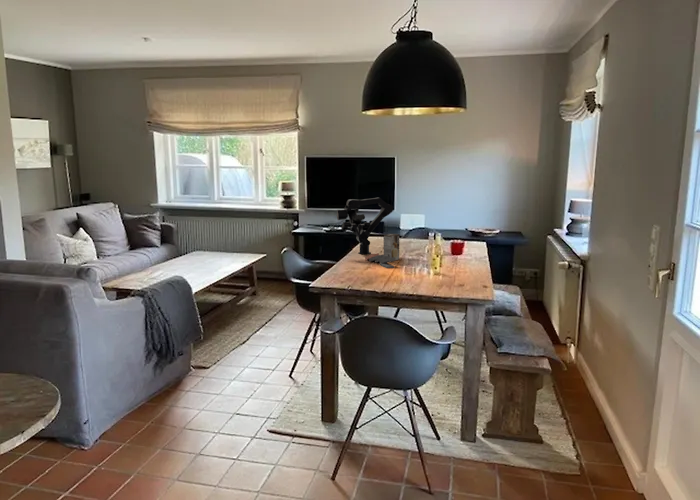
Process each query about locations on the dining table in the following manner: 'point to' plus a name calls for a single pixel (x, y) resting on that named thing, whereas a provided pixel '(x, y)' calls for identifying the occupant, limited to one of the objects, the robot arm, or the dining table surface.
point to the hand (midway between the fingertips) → (359, 236)
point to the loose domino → (371, 256)
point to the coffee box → (391, 245)
